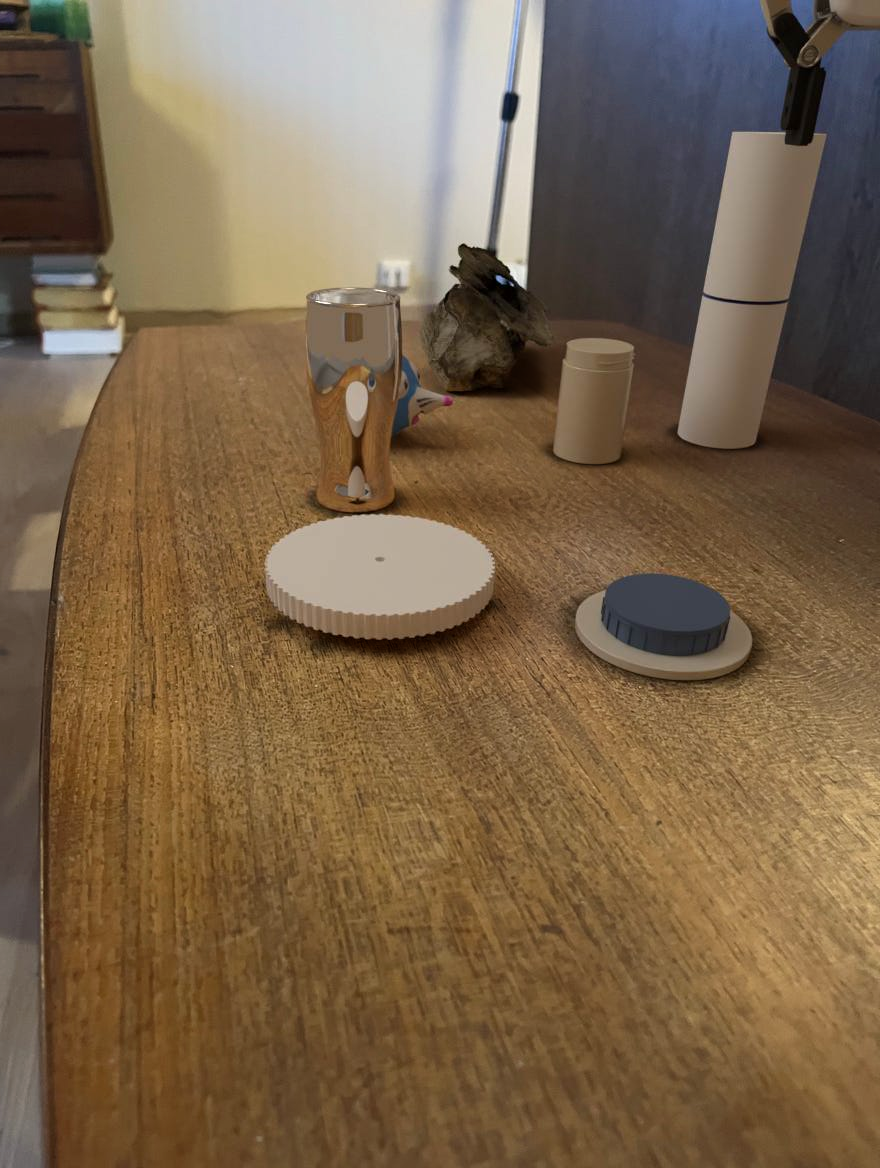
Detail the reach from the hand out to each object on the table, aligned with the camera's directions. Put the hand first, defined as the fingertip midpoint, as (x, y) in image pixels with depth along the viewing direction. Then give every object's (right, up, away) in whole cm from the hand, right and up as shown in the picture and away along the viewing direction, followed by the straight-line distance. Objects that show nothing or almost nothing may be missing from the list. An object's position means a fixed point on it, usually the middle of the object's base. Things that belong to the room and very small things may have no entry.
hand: (876, 144), depth 54 cm
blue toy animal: (-31, -12, +27) cm, 42 cm away
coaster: (-14, -30, -3) cm, 33 cm away
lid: (-14, -29, -4) cm, 32 cm away
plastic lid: (-31, -28, +1) cm, 42 cm away
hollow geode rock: (-19, +1, +50) cm, 54 cm away
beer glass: (-33, -20, +15) cm, 41 cm away
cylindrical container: (+1, -11, +30) cm, 32 cm away
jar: (-13, -14, +25) cm, 31 cm away
